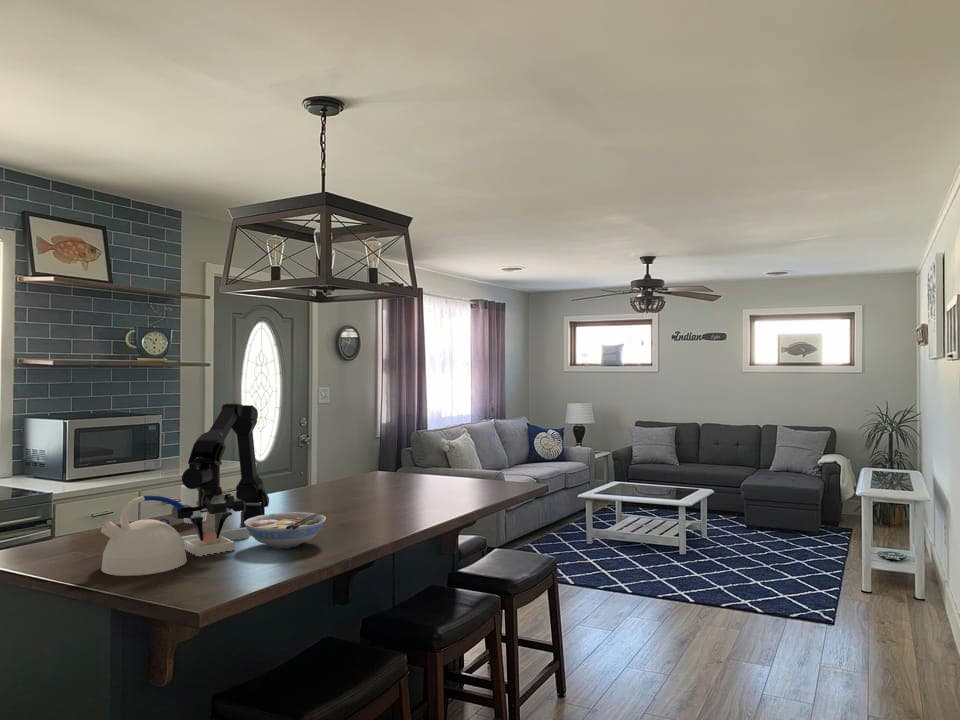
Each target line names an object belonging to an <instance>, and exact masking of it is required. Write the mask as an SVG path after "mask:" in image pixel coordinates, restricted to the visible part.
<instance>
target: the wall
mask: <svg viewBox="0 0 960 720" xmlns="http://www.w3.org/2000/svg"><path fill="white" fill-rule="evenodd" d="M219 536H223V537H225V538H227V539H229V540H232V541H236V540H235V539H238V540H243V539H242V538H245V539H249V538H250V532H249V531H248V529H247V528H246V527H237V528H233V529H226V530H225V529H224V530H221V532H220V535H219ZM181 537H182V539H183V542H184V541H188V540H195V539H199V536H198V534H197V533H196V534H190V535H185V536H181Z"/></svg>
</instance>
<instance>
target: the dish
mask: <svg viewBox="0 0 960 720" xmlns="http://www.w3.org/2000/svg"><path fill="white" fill-rule="evenodd" d="M184 544H185V550H186V551H185V552H187V551H188V552H187V553H189V552H190V553H189V554H191V553H192V554H191V555H193V554H194V555H196V556H199V557H203V556H202V555H205V556H208V555H207V554H211V555H215V554H214V553H217V554H221V553H220V552H223V553H226V552H225V551H230V552H233V551H232V550H236V545H235V544H236V542H235V540H232V541H231V540H229V539H227V538H225V537H223V536H219V538H216V540H215V541H214V542H213V543H211V544H206V543H204V542H203V541H200V539H195V540H188V541H184ZM194 555H193V556H194ZM196 556H195V557H196Z"/></svg>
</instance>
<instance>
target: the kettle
mask: <svg viewBox="0 0 960 720" xmlns="http://www.w3.org/2000/svg"><path fill="white" fill-rule="evenodd" d="M145 501H156V502H161V503H166V504H168V505H171V506H172V507H174V506H175V507H176V508H177V509H183V508H184V506H183V505H182V503H181V502H178V501H177V500H174V499H171V498H169V497H165V496H162V495H140V496H139V497H135V498H133V499H131V500H130V501H129V502H127V504H125V506H124V508H123V509H122V511H121V514H120V527H119V526H117V525H116V524H114V523H113V522H112V521H107V522H105V524H104V525H102V527H101V530H100V532H101V534H104V535H105V536H106V537H108V538H109V540H108V541H107V543H106V546H105V548H104V550H103V554H102V560H101V561H102V562H101V568H100V571H102V573H104V574H107V575H111V576H117V577H119V576H120V577H132V576H135V577H136V576H137V577H138V576H148V575H153V574H161V573H165V572H169V571H172V570H175V568H176V569H178V567H179V568H180V566H181V567H182V565H183V566H184V565H185V564H186V563H187V561H188V560H187V553H186V552H187V551H185V544H184V542H183V539H182V537H183V536H182V535H181V534H180V533H179V532H178V531H177V530H176V529H175V528H174V527H172V526H171V525H170V521H169V520H168V519H167V518H161V519H160V520H158V519H151V518H149V519H140V520H135V521H133V522H130V523H129V515H130V511H131V510H132V509H133V507H134V506H136V505H137V504H139V503H141V502H145ZM164 521H165V522H164Z"/></svg>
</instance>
